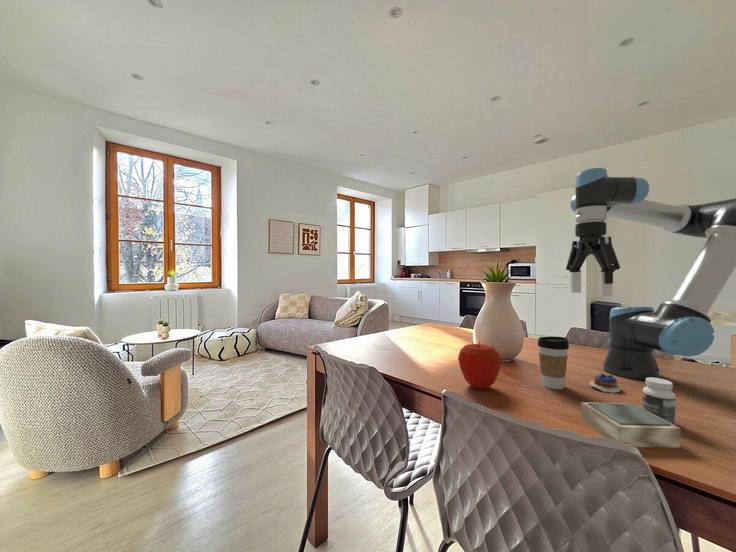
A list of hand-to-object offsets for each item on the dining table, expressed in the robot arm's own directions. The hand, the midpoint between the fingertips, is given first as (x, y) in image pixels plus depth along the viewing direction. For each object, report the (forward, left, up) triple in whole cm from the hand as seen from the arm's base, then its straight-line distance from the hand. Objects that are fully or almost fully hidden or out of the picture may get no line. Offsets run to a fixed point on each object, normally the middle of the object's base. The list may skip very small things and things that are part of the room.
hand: (589, 294), depth 93 cm
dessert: (-5, -3, -30) cm, 30 cm away
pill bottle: (-3, +20, -29) cm, 35 cm away
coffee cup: (+9, -3, -29) cm, 30 cm away
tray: (+8, +25, -29) cm, 39 cm away
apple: (+32, -1, -29) cm, 43 cm away
